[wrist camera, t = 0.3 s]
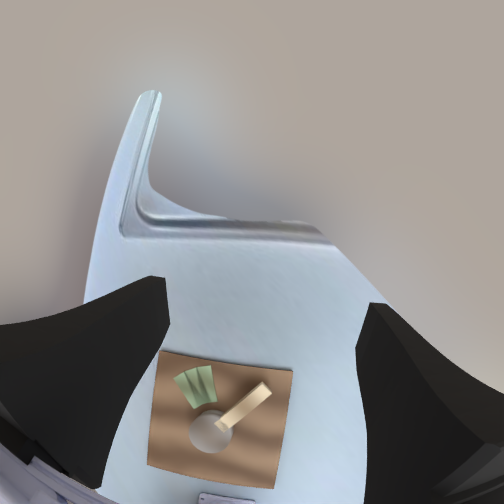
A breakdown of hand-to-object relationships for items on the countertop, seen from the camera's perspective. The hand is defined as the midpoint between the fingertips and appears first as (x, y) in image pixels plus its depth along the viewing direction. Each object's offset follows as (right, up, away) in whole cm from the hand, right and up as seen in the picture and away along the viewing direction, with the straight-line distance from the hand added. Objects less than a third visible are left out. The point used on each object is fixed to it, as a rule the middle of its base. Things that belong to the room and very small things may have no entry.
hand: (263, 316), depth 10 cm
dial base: (-5, -21, +23) cm, 32 cm away
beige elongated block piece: (-3, -18, +23) cm, 29 cm away
